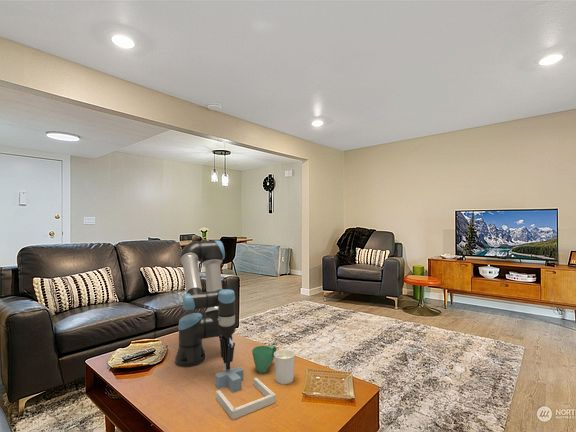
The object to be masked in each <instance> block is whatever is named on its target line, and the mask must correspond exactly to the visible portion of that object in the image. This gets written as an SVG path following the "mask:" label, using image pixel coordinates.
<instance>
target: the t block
mask: <svg viewBox="0 0 576 432" xmlns="http://www.w3.org/2000/svg"><path fill="white" fill-rule="evenodd" d="M214 374H215V375H214V376H215V378H214V381H215V383H214V384H215V387H217V389H218V390H220V389H224V388H228V389H229V390H230V391H231V392H232V393H235V392H236V393H237V392H238V391H241V390H242V382H244V380H245V379H244V375H245V373H244V369H243V368H242V367H241V366H235V367H234V368H230V370H226V371H224V370H223V371H220V372H217V373H214Z"/></svg>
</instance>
